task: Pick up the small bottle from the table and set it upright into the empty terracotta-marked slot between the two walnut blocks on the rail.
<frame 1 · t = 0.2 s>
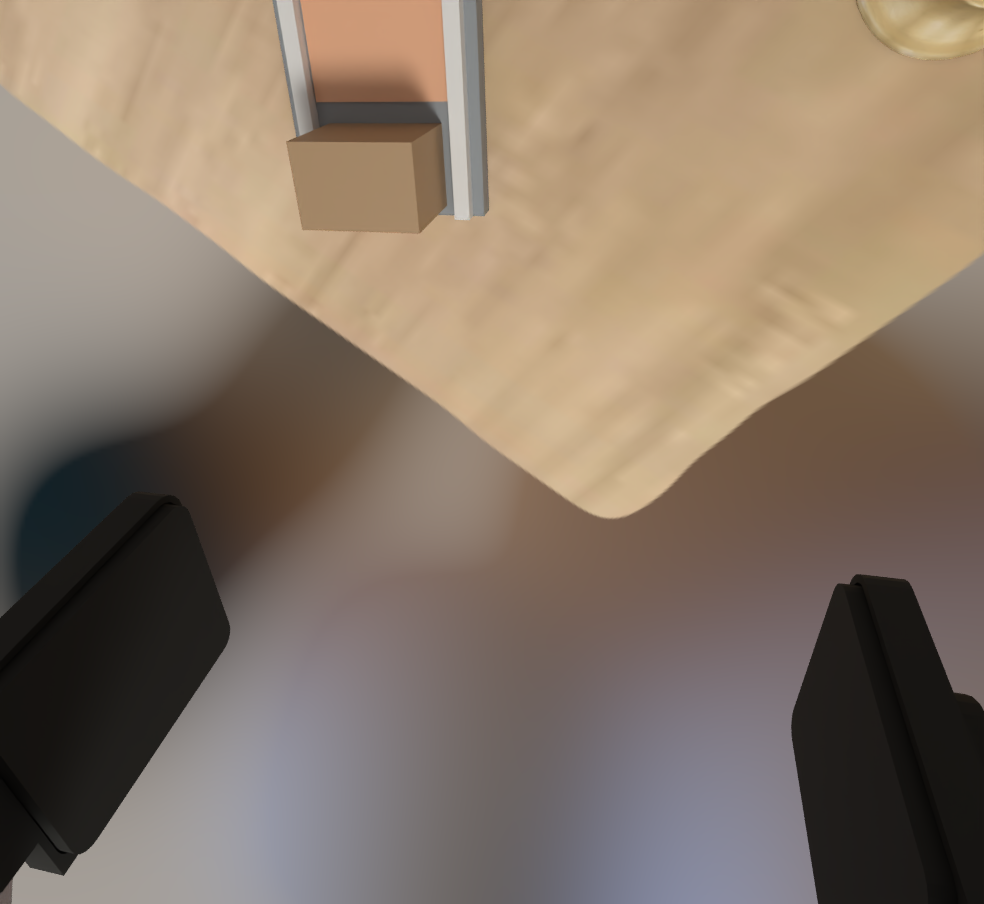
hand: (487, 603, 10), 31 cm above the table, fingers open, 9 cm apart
rail: (382, 17, 34), on the table
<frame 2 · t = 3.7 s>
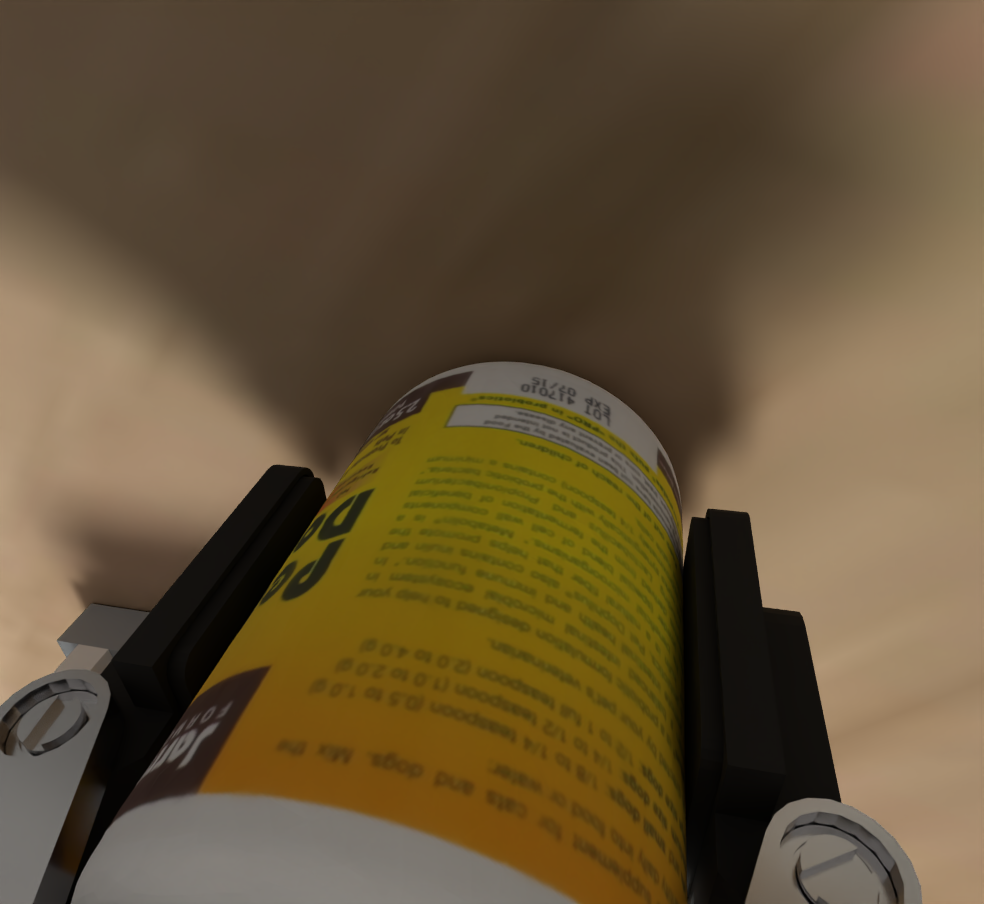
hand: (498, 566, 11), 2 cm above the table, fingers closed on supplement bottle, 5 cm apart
rail: (335, 830, 21), on the table
supplement bottle: (523, 481, 13), on the table, touching gripper
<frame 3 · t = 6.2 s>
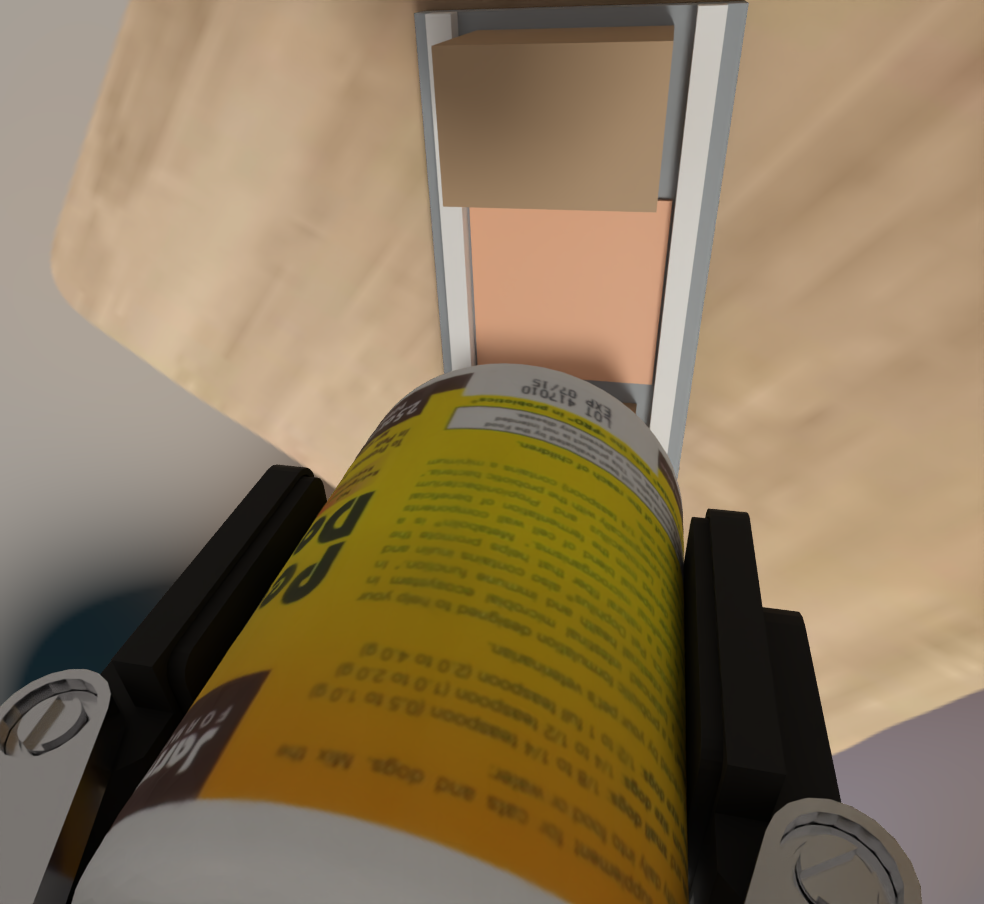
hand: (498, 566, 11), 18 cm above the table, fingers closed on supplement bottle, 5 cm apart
rail: (569, 281, 27), on the table
supplement bottle: (523, 483, 13), point 16 cm above the table, touching gripper
when the fingers open (4 cm above the table, at t = 8.8 s): supplement bottle stays where it is, resting on rail.
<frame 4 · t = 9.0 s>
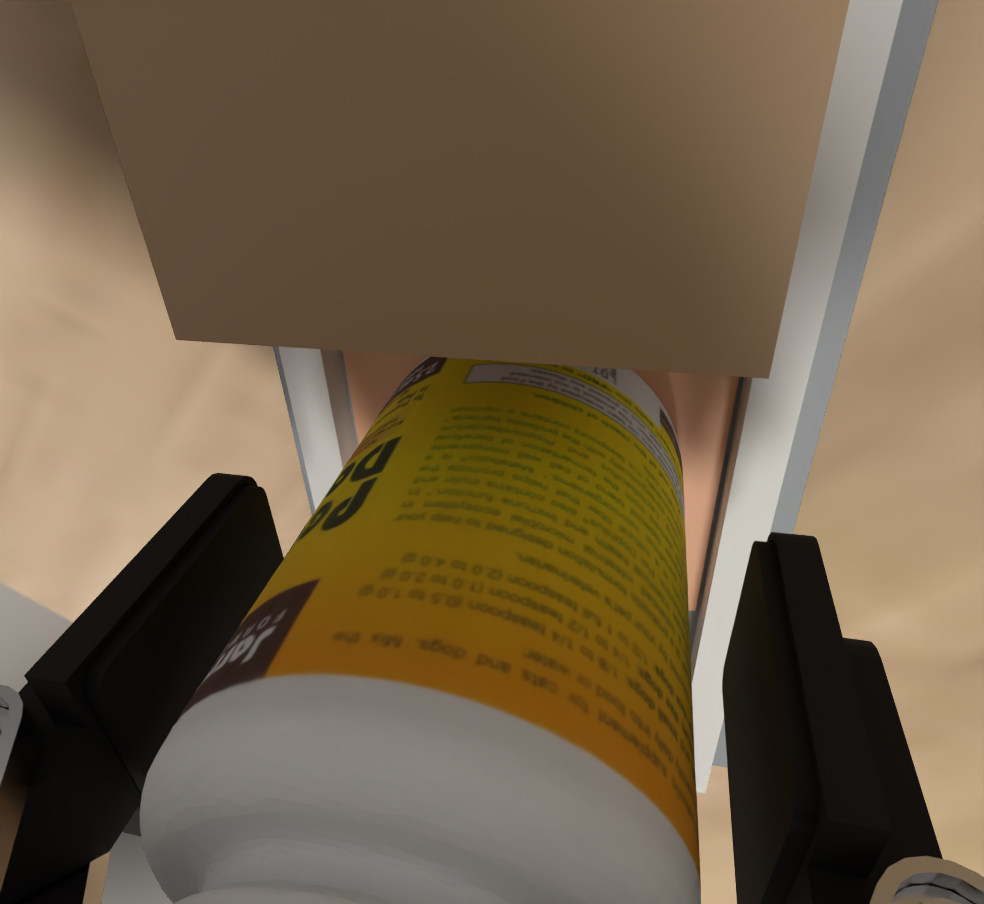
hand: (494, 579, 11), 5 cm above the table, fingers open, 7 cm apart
rail: (541, 422, 14), on the table
supplement bottle: (531, 447, 13), point 1 cm above the table, touching rail
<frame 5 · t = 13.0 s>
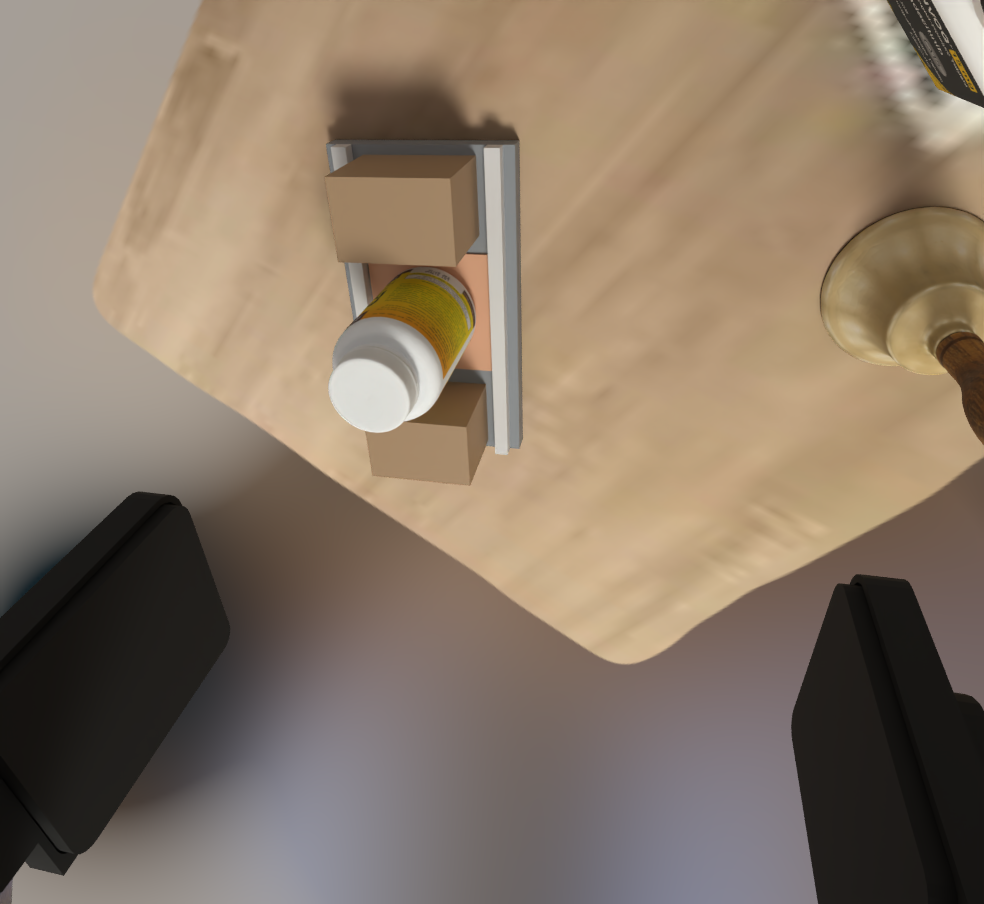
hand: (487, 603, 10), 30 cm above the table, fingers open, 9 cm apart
rail: (438, 304, 41), on the table
hand bell: (907, 288, 35), on the table
supplement bottle: (432, 309, 40), point 1 cm above the table, touching rail
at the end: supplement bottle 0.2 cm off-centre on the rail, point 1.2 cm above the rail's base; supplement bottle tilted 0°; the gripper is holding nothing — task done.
